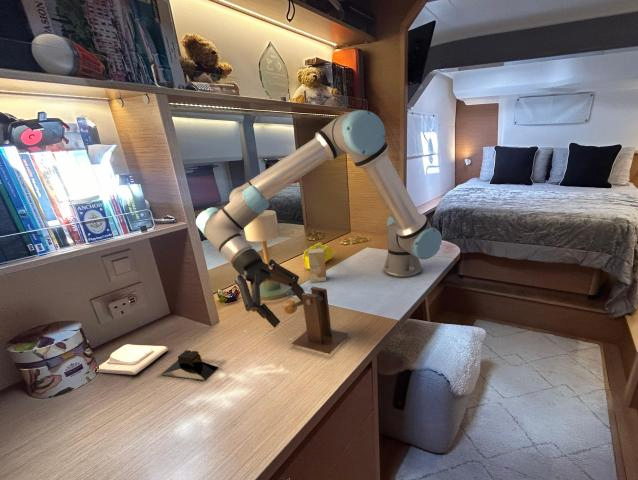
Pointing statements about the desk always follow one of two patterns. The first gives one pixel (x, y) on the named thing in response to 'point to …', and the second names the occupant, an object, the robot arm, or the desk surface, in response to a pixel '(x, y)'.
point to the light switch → (131, 359)
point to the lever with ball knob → (297, 304)
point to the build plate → (190, 367)
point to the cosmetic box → (317, 265)
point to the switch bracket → (318, 324)
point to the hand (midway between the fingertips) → (293, 313)
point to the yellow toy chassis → (318, 246)
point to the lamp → (264, 231)
